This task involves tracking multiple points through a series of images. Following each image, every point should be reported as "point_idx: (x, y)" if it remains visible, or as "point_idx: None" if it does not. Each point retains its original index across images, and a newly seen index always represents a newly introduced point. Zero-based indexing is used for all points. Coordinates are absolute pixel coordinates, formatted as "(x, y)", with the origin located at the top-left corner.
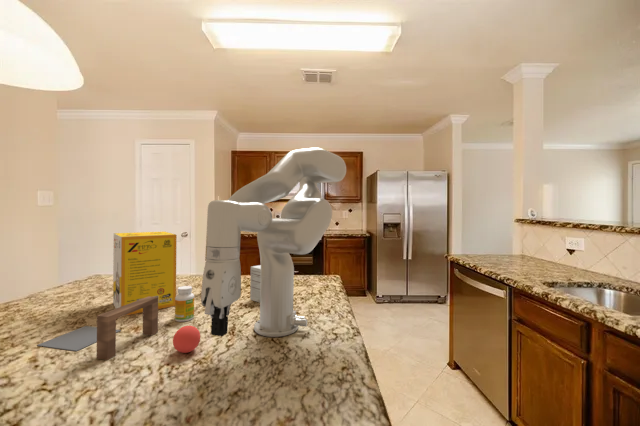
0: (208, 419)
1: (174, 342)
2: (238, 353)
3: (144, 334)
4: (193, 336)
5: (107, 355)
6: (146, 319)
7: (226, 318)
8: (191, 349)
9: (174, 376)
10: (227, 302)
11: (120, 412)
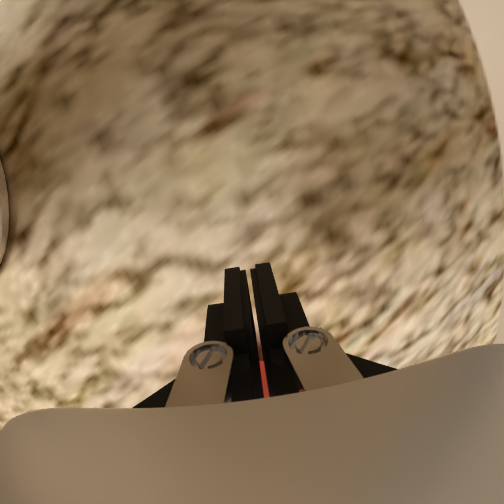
0: (486, 86)
1: None
2: (170, 198)
3: None
4: (265, 393)
5: None
6: None
7: (242, 324)
8: (263, 361)
9: (382, 295)
10: (412, 396)
11: (491, 280)
